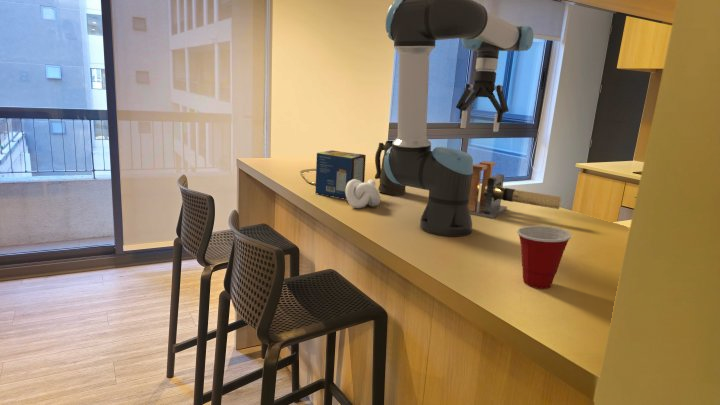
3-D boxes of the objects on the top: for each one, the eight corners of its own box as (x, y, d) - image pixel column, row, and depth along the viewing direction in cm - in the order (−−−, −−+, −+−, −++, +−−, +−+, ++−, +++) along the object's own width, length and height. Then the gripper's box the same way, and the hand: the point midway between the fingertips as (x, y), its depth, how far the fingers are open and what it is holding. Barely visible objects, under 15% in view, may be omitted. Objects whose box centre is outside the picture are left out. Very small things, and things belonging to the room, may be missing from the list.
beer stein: (411, 192, 182) (415, 142, 178) (399, 197, 174) (403, 144, 169) (378, 186, 190) (381, 138, 186) (364, 190, 181) (367, 139, 177)
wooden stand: (493, 218, 151) (500, 169, 147) (442, 208, 160) (447, 162, 156) (506, 209, 164) (512, 164, 160) (458, 200, 173) (463, 158, 169)
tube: (557, 210, 146) (559, 197, 144) (483, 198, 158) (484, 185, 157) (559, 208, 149) (562, 195, 148) (486, 196, 161) (488, 184, 160)
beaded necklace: (310, 188, 182) (310, 184, 182) (296, 172, 215) (297, 168, 214) (355, 188, 188) (356, 184, 187) (336, 172, 220) (336, 168, 220)
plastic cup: (509, 270, 107) (516, 220, 104) (559, 278, 104) (568, 227, 101) (510, 288, 97) (518, 234, 94) (565, 297, 94) (575, 241, 91)
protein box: (330, 189, 181) (331, 150, 177) (364, 195, 173) (366, 154, 170) (314, 193, 172) (315, 152, 168) (349, 200, 165) (351, 157, 161)
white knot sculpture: (352, 211, 150) (353, 184, 148) (338, 202, 161) (339, 177, 158) (383, 209, 155) (384, 183, 152) (368, 201, 165) (369, 176, 163)
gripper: (523, 72, 162) (514, 133, 167) (461, 71, 178) (455, 126, 183) (513, 70, 157) (505, 133, 162) (450, 69, 173) (445, 126, 178)
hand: (478, 129), depth 173 cm, fingers open, 13 cm apart
